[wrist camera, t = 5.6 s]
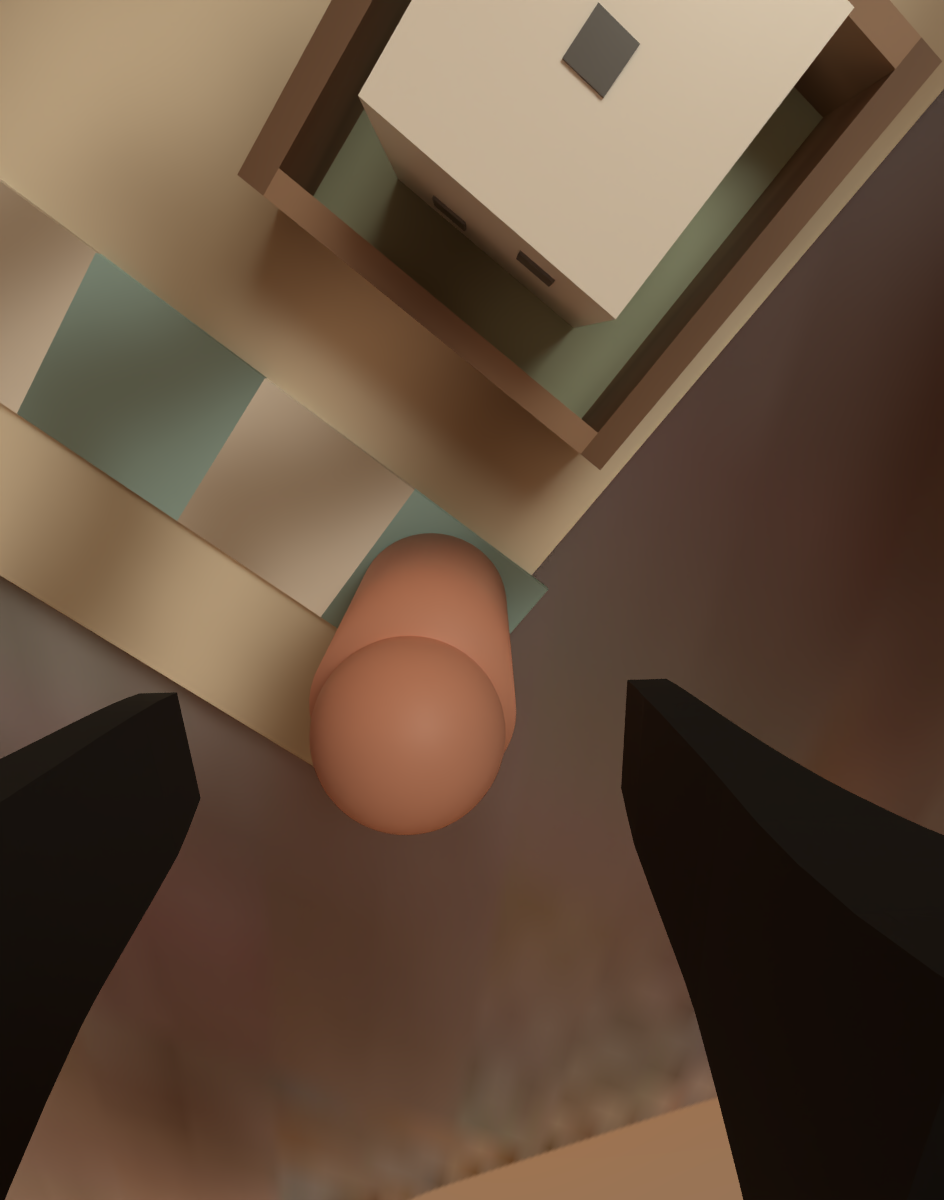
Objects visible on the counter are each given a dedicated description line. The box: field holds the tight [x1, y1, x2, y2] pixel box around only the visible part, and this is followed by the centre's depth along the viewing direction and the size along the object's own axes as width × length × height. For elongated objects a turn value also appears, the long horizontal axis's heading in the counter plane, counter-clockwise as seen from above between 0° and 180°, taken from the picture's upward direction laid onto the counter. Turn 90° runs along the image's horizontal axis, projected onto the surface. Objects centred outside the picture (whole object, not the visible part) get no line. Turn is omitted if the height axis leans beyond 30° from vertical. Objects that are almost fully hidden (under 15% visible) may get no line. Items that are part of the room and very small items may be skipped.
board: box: [0, 0, 944, 766], centre depth 13 cm, size 18×22×4 cm
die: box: [358, 0, 854, 328], centre depth 10 cm, size 4×4×4 cm
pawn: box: [309, 533, 516, 835], centre depth 13 cm, size 4×4×7 cm
